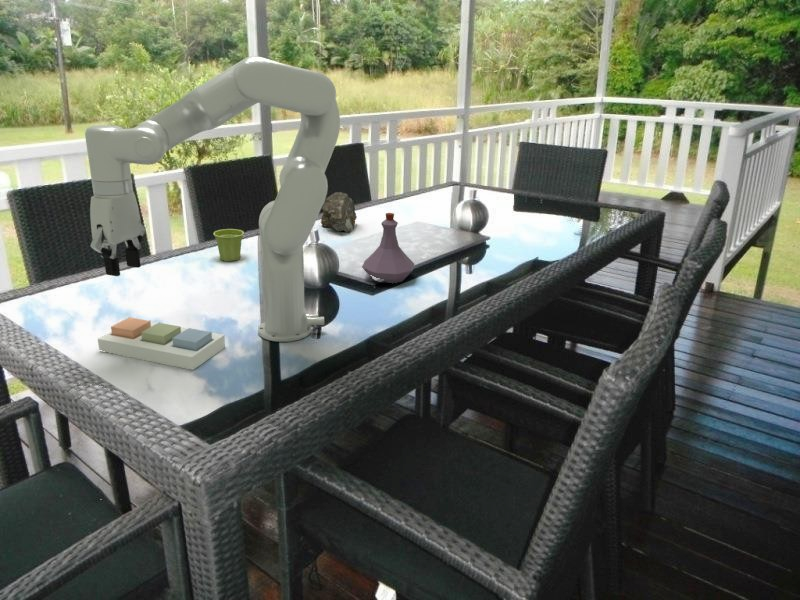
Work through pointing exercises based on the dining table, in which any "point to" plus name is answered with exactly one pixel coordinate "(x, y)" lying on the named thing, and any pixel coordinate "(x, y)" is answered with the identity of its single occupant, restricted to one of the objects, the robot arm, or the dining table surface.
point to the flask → (389, 256)
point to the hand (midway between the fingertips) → (123, 270)
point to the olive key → (160, 333)
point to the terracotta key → (130, 328)
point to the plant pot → (229, 243)
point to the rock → (339, 212)
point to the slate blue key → (192, 339)
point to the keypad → (161, 350)
